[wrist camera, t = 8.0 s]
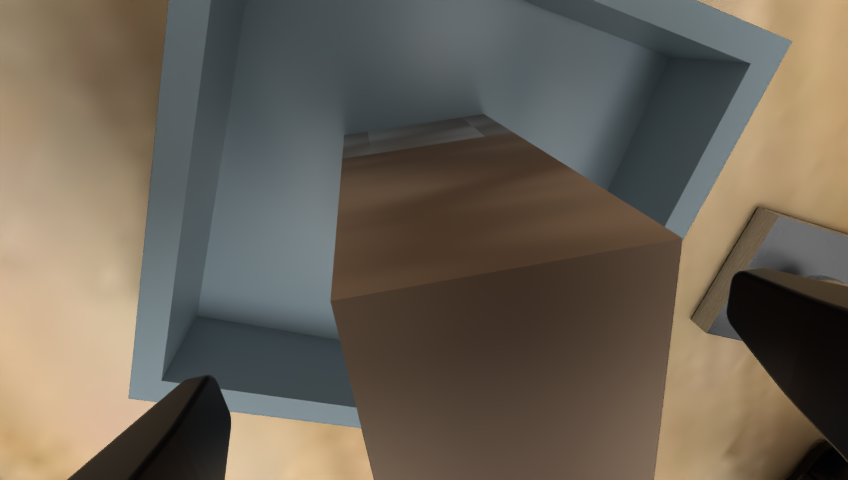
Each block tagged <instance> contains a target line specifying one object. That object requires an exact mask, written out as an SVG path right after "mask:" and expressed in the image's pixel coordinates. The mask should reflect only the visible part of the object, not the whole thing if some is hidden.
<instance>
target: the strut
mask: <svg viewBox="0 0 848 480" xmlns="http://www.w3.org/2000/svg"><path fill="white" fill-rule="evenodd" d="M681 246H682V237H680V236H678V235H677V234H675V233H674V232H672V231H670V230H669V229H667V228H666V227H664V226H662V225H661V224H659V223H658V222H656V221H654V220H653V219H651V218H650V217H648V216H646V215H645V214H643V213H642V212H640V211H638V210H637V209H635V208H634V207H632V206H630V205H629V204H627V203H626V202H624V201H622V200H621V199H619V198H618V197H616V196H614V195H613V194H611V193H610V192H608V191H606V190H605V189H603V188H602V187H600V186H598V185H597V184H595V183H594V182H592V181H590V180H589V179H587V178H586V177H584V176H582V175H581V174H579V173H578V172H576V171H574V170H573V169H571V168H570V167H568V166H566V165H565V164H563V163H562V162H560V161H558V160H557V159H555V158H554V157H552V156H550V155H549V154H547V153H546V152H544V151H542V150H541V149H539V148H538V147H536V146H534V145H533V144H531V143H530V142H528V141H526V140H525V139H523V138H522V137H520V136H518V135H517V134H515V133H514V132H512V131H510V130H509V129H507V128H506V127H504V126H502V125H501V124H499V123H498V122H496V121H494V120H493V119H491V118H490V117H488V116H486V115H485V114H480V115H474V116H467V117H461V118H454V119H448V120H441V121H435V122H428V123H422V124H415V125H409V126H402V127H396V128H389V129H383V130H376V131H369V132H363V133H356V134H350V135H344V143H343V155H342V167H341V179H340V191H339V203H338V215H337V227H336V239H335V251H334V263H333V275H332V287H331V299H330V302H331V306H332V310H333V314H334V318H335V322H336V326H337V330H338V334H339V339H340V343H341V347H342V351H343V355H344V359H345V363H346V367H347V371H348V375H349V380H350V384H351V388H352V392H353V396H354V400H355V404H356V408H357V412H358V416H359V421H360V425H361V429H362V433H363V437H364V441H365V445H366V449H367V453H368V457H369V462H370V466H371V470H372V474H373V478H374V480H654V475H655V467H656V458H657V450H658V441H659V433H660V424H661V416H662V407H663V399H664V390H665V382H666V373H667V365H668V357H669V348H670V340H671V331H672V323H673V314H674V306H675V297H676V289H677V280H678V272H679V263H680V255H681Z"/></svg>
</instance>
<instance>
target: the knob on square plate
mask: <svg viewBox="0 0 848 480" xmlns="http://www.w3.org/2000/svg"><path fill="white" fill-rule="evenodd" d="M752 268H766V269H771V270H775V271H780V272H784V273H789V274H793V275H798V276H803V277H807V278H812V279H816V280H821V281H825V282H830V283H835V284H839V285H844V286H848V234H845V233H842V232H839V231H836V230H832V229H829V228H826V227H823V226H819V225H816V224H813V223H810V222H806V221H803V220H800V219H797V218H793V217H790V216H787V215H784V214H780V213H777V212H774V211H771V210H767V209H764V208H761V207H758V208H757V210H756V212H755V213H754V215H753V217H752V218H751V220H750V222H749V224H748V225H747V227H746V229H745V230H744V232H743V234H742V235H741V237H740V239H739V240H738V242H737V244H736V245H735V247H734V249H733V250H732V252H731V254H730V255H729V257H728V259H727V260H726V262H725V264H724V265H723V267H722V269H721V270H720V272H719V274H718V275H717V277H716V279H715V281H714V282H713V284H712V286H711V287H710V289H709V291H708V292H707V294H706V296H705V297H704V299H703V301H702V302H701V304H700V306H699V307H698V309H697V311H696V312H695V314H694V316H693V317H692V319H691V320H692V321H693V322H694V323H695V324H697V325H698V326H699V327H700V328H701V329H702V330H704V331H705V332H706V333H709V334H713V335H718V336H722V337H727V338H732V339H736V340H741V341H743V340H742V339H741V338H740V337H739V335H738V334H737V333H736V331H735V330H734V329H733V328H732V326H731V325H730V323H729V321H728V319H727V314H726V309H727V303H728V297H729V291H730V285H731V279H732V277H733V275H734V274H735V273H737V272H738V271H742V270H747V269H752Z"/></svg>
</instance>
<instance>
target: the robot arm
mask: <svg viewBox="0 0 848 480" xmlns="http://www.w3.org/2000/svg"><path fill="white" fill-rule="evenodd" d="M726 314H727V319H728V321H729V323H730V325H731V326H732V328H733V329H734V330H735V331H736V333H737V334H738V335H739V337H740V338H741V339H742V340H743V342H744V343H745V344H746V346H747V347H748V348H749V349H750V351H751V352H752V353H753V354H754V356H755V357H756V358H757V360H758V361H759V362H760V363H761V365H762V366H763V367H764V369H765V370H766V371H767V372H768V374H769V375H770V376H771V377H772V379H773V380H774V381H775V383H776V384H777V385H778V386H779V388H780V389H781V390H782V391H783V392H784V394H785V395H786V396H787V397H788V398H789V399H790V401H791V402H792V403H793V404H794V405H795V406H796V407H797V408H798V409H799V410H800V412H801V413H802V414H803V415H804V416H805V417H806V418H807V419H808V420H809V421H810V422H811V423H812V424H813V425H814V426H815V428H816V429H817V430H818V431H819V432H820V433H821V434H822V435H823V436H824V437H825V438H826V439H827V440H828V441H824V442H821V443H820V444H818V445H817V446H816V447H815V448H814V450H813V451H812V452H811V453H810V455H809V456H808V457H807V458H806V460H805V461H804V462H803V463H802V465H801V466H800V467H799V468H798V470H797V471H796V472H795V473H794V475H793V476H792V477H791V478H790V480H848V286H844V285H839V284H835V283H830V282H825V281H821V280H816V279H812V278H807V277H803V276H798V275H793V274H789V273H784V272H780V271H775V270H771V269H766V268H752V269H747V270H742V271H738V272H737V273H735V274H734V275H733V277H732V279H731V285H730V291H729V297H728V303H727V309H726ZM230 431H231V416H230V412H229V409H228V407H227V404H226V402H225V399H224V397H223V394H222V392H221V389H220V387H219V385H218V382H217V380H216V379H215V377H214V376H212V375H209V374H208V375H202V376H197V377H192V378H188V379H185V380H184V381H182V382H181V383H180V384H179V385H178V386H176V387H175V388H174V389H173V390H172V391H171V392H169V393H168V394H167V395H166V396H165V397H164V398H162V399H161V400H160V401H159V402H158V403H156V404H155V405H154V406H153V407H152V408H151V409H149V410H148V411H147V412H146V413H145V414H144V415H142V416H141V417H140V418H139V419H138V420H137V421H135V422H134V423H133V424H132V425H131V426H130V427H128V428H127V429H126V430H125V431H124V432H122V433H121V434H120V435H119V436H118V437H117V438H115V439H114V440H113V441H112V442H111V443H110V444H108V445H107V446H106V447H105V448H104V449H103V450H101V451H100V452H99V453H98V454H97V455H96V456H94V457H93V458H92V459H91V460H90V461H88V462H87V463H86V464H85V465H84V466H83V467H81V468H80V469H79V470H78V471H77V472H76V473H74V474H73V475H72V476H71V477H70V478H69V479H67V480H225V473H226V464H227V456H228V447H229V439H230Z"/></svg>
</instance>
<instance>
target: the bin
mask: <svg viewBox="0 0 848 480" xmlns="http://www.w3.org/2000/svg"><path fill="white" fill-rule="evenodd" d="M791 43H792V41H790V40H788V39H786V38H783V37H781V36H779V35H776V34H774V33H772V32H769V31H767V30H765V29H762V28H760V27H758V26H755V25H753V24H750V23H748V22H746V21H743V20H741V19H739V18H736V17H734V16H732V15H729V14H727V13H725V12H722V11H720V10H718V9H715V8H713V7H711V6H708V5H706V4H704V3H701V2H699V1H697V0H169V2H168V12H167V22H166V32H165V42H164V51H163V61H162V71H161V81H160V91H159V101H158V111H157V121H156V131H155V141H154V151H153V161H152V171H151V181H150V191H149V201H148V210H147V220H146V230H145V240H144V250H143V260H142V270H141V280H140V290H139V300H138V310H137V320H136V330H135V340H134V350H133V360H132V370H131V379H130V389H129V399H136V400H144V401H152V402H159V401H160V400H161V399H162V398H164V397H165V396H166V395H167V394H168V393H169V392H171V391H172V390H173V389H174V388H175V387H176V386H178V385H179V384H180V383H181V382H182V381H184V380H185V379H188V378H192V377H197V376H202V375H208V374H209V375H212V376H214V377H215V379H216V380H217V382H218V385H219V387H220V389H221V392H222V394H223V397H224V399H225V402H226V404H227V407H228V409H229V411H231V412H238V413H246V414H254V415H262V416H270V417H278V418H286V419H293V420H301V421H309V422H317V423H325V424H333V425H341V426H348V427H356V428H361V425H360V421H359V416H358V412H357V408H356V404H355V400H354V396H353V392H352V388H351V384H350V380H349V375H348V371H347V367H346V363H345V359H344V355H343V351H342V347H341V343H340V339H339V334H338V330H337V326H336V322H335V318H334V314H333V310H332V306H331V302H330V299H331V287H332V275H333V263H334V251H335V239H336V227H337V215H338V203H339V191H340V179H341V167H342V155H343V143H344V135H350V134H356V133H363V132H369V131H376V130H383V129H389V128H396V127H402V126H409V125H415V124H422V123H428V122H435V121H441V120H448V119H454V118H461V117H467V116H474V115H480V114H485V115H486V116H488V117H490V118H491V119H493V120H494V121H496V122H498V123H499V124H501V125H502V126H504V127H506V128H507V129H509V130H510V131H512V132H514V133H515V134H517V135H518V136H520V137H522V138H523V139H525V140H526V141H528V142H530V143H531V144H533V145H534V146H536V147H538V148H539V149H541V150H542V151H544V152H546V153H547V154H549V155H550V156H552V157H554V158H555V159H557V160H558V161H560V162H562V163H563V164H565V165H566V166H568V167H570V168H571V169H573V170H574V171H576V172H578V173H579V174H581V175H582V176H584V177H586V178H587V179H589V180H590V181H592V182H594V183H595V184H597V185H598V186H600V187H602V188H603V189H605V190H606V191H608V192H610V193H611V194H613V195H614V196H616V197H618V198H619V199H621V200H622V201H624V202H626V203H627V204H629V205H630V206H632V207H634V208H635V209H637V210H638V211H640V212H642V213H643V214H645V215H646V216H648V217H650V218H651V219H653V220H654V221H656V222H658V223H659V224H661V225H662V226H664V227H666V228H667V229H669V230H670V231H672V232H674V233H675V234H677V235H678V236H680V237H682V241H683V239H684V237H685V236H686V234H687V232H688V230H689V228H690V226H691V225H692V223H693V221H694V219H695V217H696V216H697V214H698V212H699V210H700V208H701V206H702V205H703V203H704V201H705V199H706V197H707V196H708V194H709V192H710V190H711V188H712V186H713V185H714V183H715V181H716V179H717V177H718V176H719V174H720V172H721V170H722V168H723V166H724V165H725V163H726V161H727V159H728V157H729V156H730V154H731V152H732V150H733V148H734V146H735V145H736V143H737V141H738V139H739V137H740V136H741V134H742V132H743V130H744V128H745V126H746V125H747V123H748V121H749V119H750V117H751V116H752V114H753V112H754V110H755V108H756V106H757V105H758V103H759V101H760V99H761V97H762V96H763V94H764V92H765V90H766V88H767V86H768V85H769V83H770V81H771V79H772V77H773V76H774V74H775V72H776V70H777V68H778V66H779V65H780V63H781V61H782V59H783V57H784V56H785V54H786V52H787V50H788V48H789V46H790V45H791Z"/></svg>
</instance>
